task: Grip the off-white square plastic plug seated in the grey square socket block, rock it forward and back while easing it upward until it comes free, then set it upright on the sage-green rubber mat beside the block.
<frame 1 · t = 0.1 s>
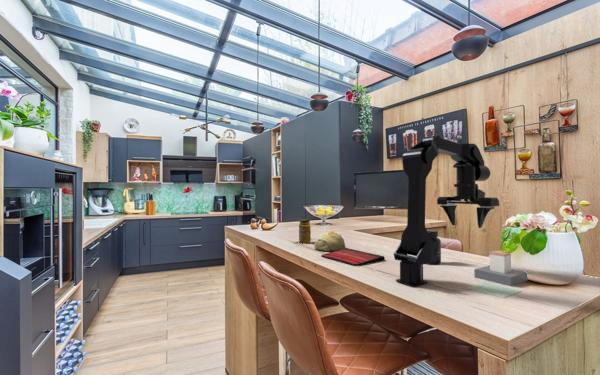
hand: (466, 226, 105), 15 cm above the kitchen island, fingers open, 9 cm apart
binder: (351, 260, 123), on the kitchen island
mat: (493, 291, 82), on the kitchen island
condiment: (303, 243, 159), on the kitchen island
grey square socket block: (500, 280, 92), on the kitchen island
plug: (500, 278, 92), resting on grey square socket block
supplement bottle: (431, 263, 114), on the kitchen island
tan lumpy mound: (330, 250, 141), on the kitchen island
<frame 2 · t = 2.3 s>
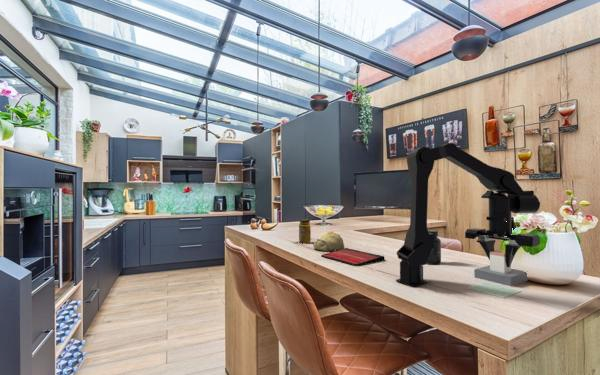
hand: (500, 265, 92), 5 cm above the kitchen island, fingers closed on plug, 4 cm apart
plug: (500, 278, 92), resting on grey square socket block, touching gripper
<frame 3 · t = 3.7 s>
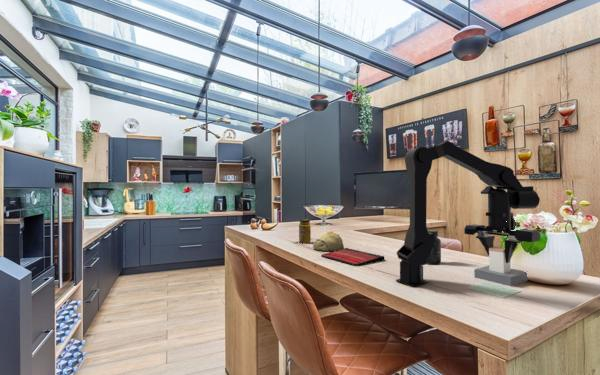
hand: (499, 261, 92), 6 cm above the kitchen island, fingers closed on plug, 4 cm apart
plug: (500, 274, 92), point 2 cm above the kitchen island, touching gripper
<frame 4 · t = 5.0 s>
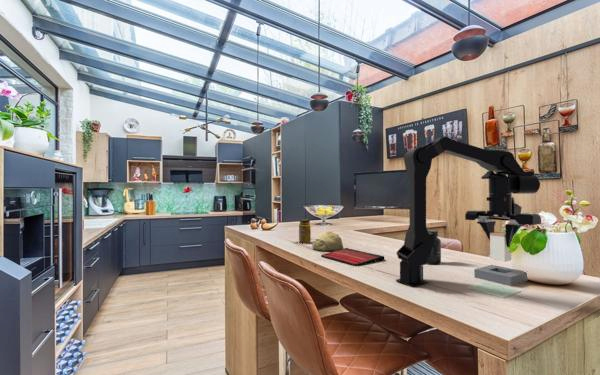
hand: (500, 245, 92), 10 cm above the kitchen island, fingers closed on plug, 4 cm apart
plug: (500, 259, 92), point 6 cm above the kitchen island, touching gripper
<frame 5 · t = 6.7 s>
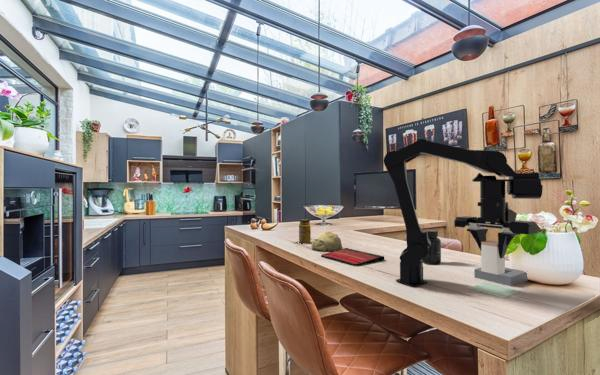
hand: (492, 256, 82), 9 cm above the kitchen island, fingers closed on plug, 4 cm apart
plug: (492, 271, 82), point 5 cm above the kitchen island, touching gripper
when the fingers open (6 cm above the kitchen island, at t = 8.0 s): plug drops 1 cm, resting on mat.
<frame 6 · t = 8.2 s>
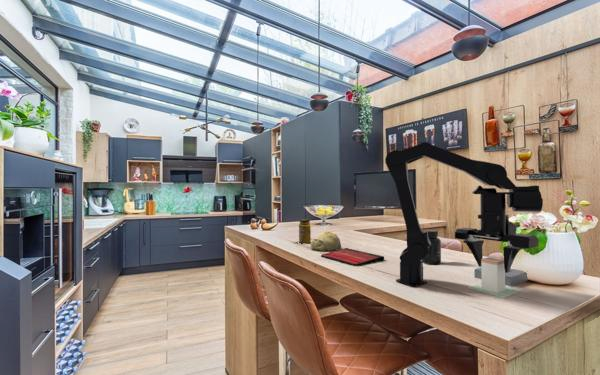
hand: (493, 269, 82), 6 cm above the kitchen island, fingers open, 6 cm apart
plug: (493, 289, 82), point 1 cm above the kitchen island, touching mat
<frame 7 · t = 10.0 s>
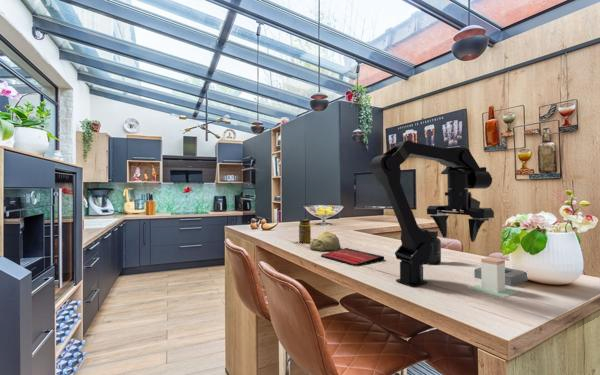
hand: (458, 239, 94), 12 cm above the kitchen island, fingers open, 9 cm apart
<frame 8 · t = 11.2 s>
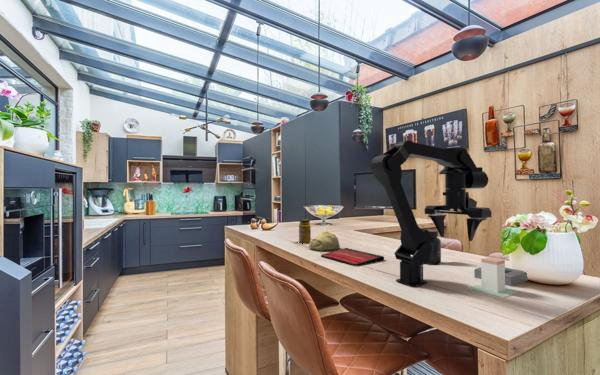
hand: (455, 238, 95), 12 cm above the kitchen island, fingers open, 9 cm apart
at the end: plug 0.1 cm off-centre on the mat, point 0.6 cm above the mat's base; plug tilted 0°; the gripper is holding nothing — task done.
